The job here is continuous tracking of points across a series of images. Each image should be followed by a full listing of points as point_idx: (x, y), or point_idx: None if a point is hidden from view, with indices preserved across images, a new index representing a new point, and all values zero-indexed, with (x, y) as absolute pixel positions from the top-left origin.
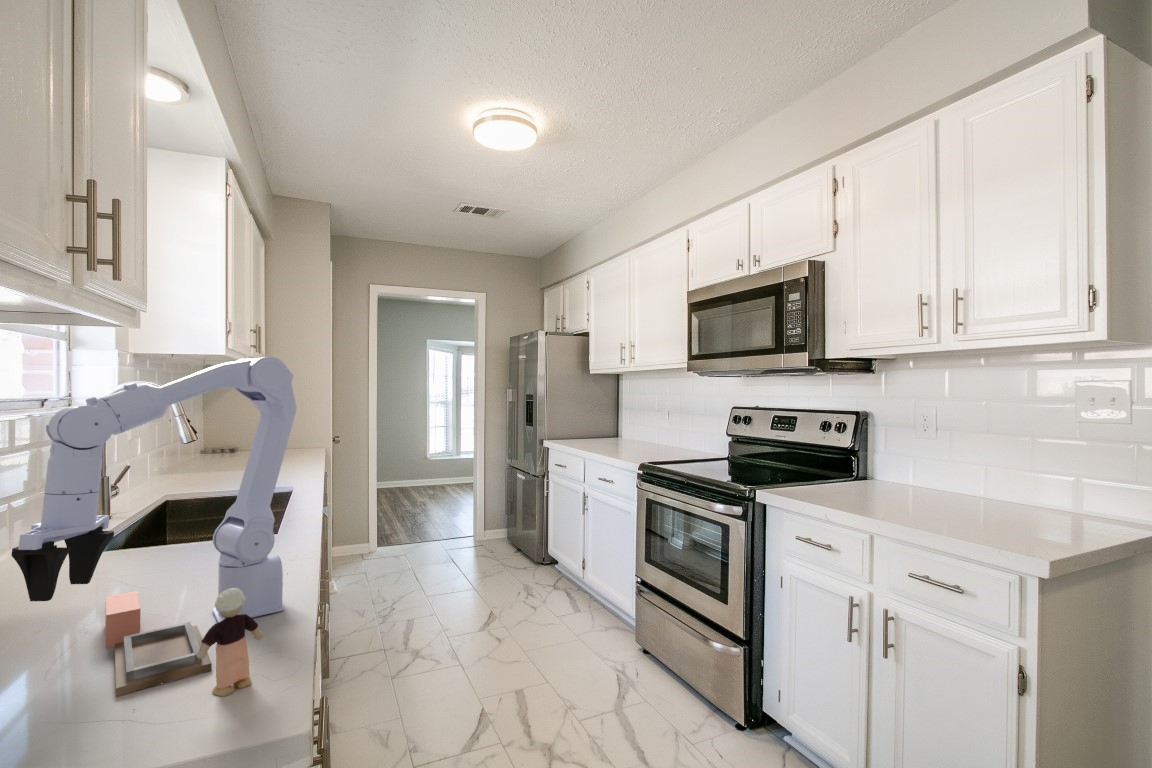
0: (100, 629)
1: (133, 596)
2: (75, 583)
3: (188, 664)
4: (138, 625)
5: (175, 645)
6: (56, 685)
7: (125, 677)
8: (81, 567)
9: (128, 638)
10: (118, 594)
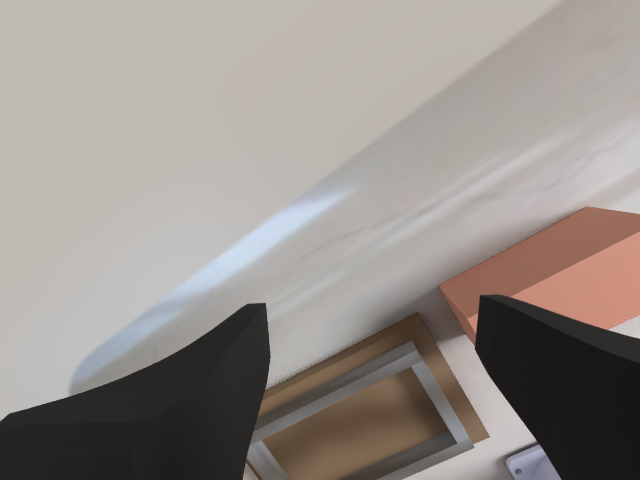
0: (567, 206)
1: (629, 307)
2: (479, 313)
3: None
4: None
5: (384, 439)
6: (275, 294)
7: None
8: (523, 368)
9: (401, 365)
10: None
